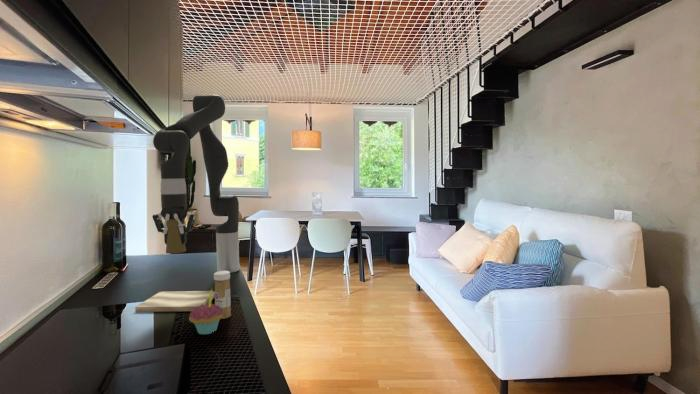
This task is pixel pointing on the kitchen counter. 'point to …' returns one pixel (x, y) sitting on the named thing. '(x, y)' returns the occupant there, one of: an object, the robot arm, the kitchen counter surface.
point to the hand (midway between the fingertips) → (175, 244)
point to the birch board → (175, 301)
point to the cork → (174, 237)
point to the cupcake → (206, 317)
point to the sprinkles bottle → (223, 292)
